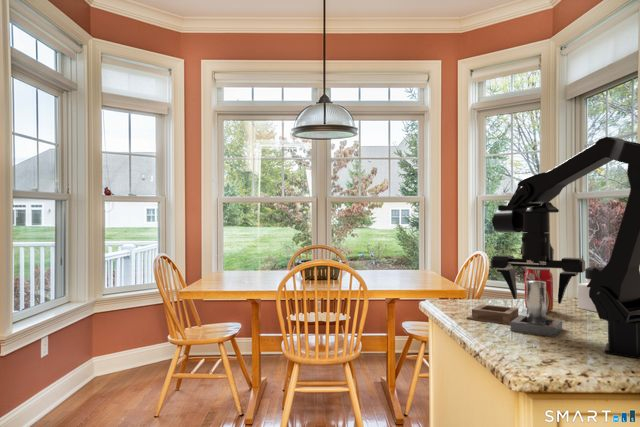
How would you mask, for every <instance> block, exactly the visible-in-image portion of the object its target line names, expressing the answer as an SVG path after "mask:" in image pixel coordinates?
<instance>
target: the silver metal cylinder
mask: <svg viewBox="0 0 640 427" xmlns="http://www.w3.org/2000/svg"><path fill="white" fill-rule="evenodd" d="M526 284H527V308H526V316H527V323H535V324H542V325H547V320H546V318H547V313H546V282H544V281H534V280H530V281H526Z"/></svg>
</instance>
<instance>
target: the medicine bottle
mask: <svg viewBox="0 0 640 427" xmlns="http://www.w3.org/2000/svg"><path fill="white" fill-rule="evenodd" d="M598 267H599V266H588V267H585V271H584V274H585V275H584V276H585V278H584V279H585V282H582V283H581V282H580V283H578V284H577V307H578V309H581V310H586V311H590V312H594V313H597V310H596V307H595V305H594V303H593V302H592V300H591V298H590V297H589V289H590V287H587V285H588V284H589V283H590V280H591V276H592V271H593V268H598Z"/></svg>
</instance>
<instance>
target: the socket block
mask: <svg viewBox="0 0 640 427" xmlns="http://www.w3.org/2000/svg"><path fill="white" fill-rule="evenodd" d="M546 320H547V325H542V324H535V323H527V315H524V314H520V316H518V317H517V318H515V319H514V320H513V321H511V325H510V331H511V332H517V333H525V334H531V335H538V336H545V337H546V336H547V337H552V338H556V337H557V336H558V335H559V334H560V332H561V331H562V330H563V319H554V318H547V317H546Z"/></svg>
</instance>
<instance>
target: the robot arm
mask: <svg viewBox="0 0 640 427" xmlns="http://www.w3.org/2000/svg"><path fill="white" fill-rule="evenodd" d="M612 161H616V162H619V163H624V164H626V165H627V171H626V175H627V178H628V184H629V188H630V190H629V194H628V197H627V200H626V203H625V207H624V211H623V214H622V217H621V221H620V224H619V227H618V230H617V233H616V237H615V239H614V242H613V243H614V244H613V247H612V250H611V254H610V257H609V260H608V262H607V263H606V264H605V265H604V266H597V267H598V268H593V271H592V276H591V280H590V283H589V284H588V285H587V287H590V289H589V297H590V298H591V300H592V302H593V303H594V305H595V307H596V310H597V312H596V313H597V315H598V318H599V319H600V320H603V321H607V343H606V344H605V347H604V353H605V354H611V355H617V356H625V357H631V358H637V359H640V143H639V142H634V141H629V140H625V139H623V138H619V137H613V136H604V137H601V138H599V139H598V140H596V142H595V143H593V144H592V145H590V146H589V147H586V148H585V149H582V151H580V152H578V153H577V154H575V155H573V156H571V157H570V158H568V159H567V160H564V162H562V163H560V164H557V165H556V166H554V167H553V168H551V169H549V170H547V171H544V172H543V171H542V172H540V173H535V174H532V175H530V176H527V177H524V178H522V179H521V180H519V182H518V183H517V188H516V189H515V190H514V193H513V195H512V196H511V198H510V199H509V202H508V203H507V204H499V205H498V206H497V210H496V211H495V212H494V213H493V215H492V218H491V223H492V224H491V225H492V227H493V229H494V231H496V232H498V233H517V234H518V233H521V246H520V254H521V258H515V256H514V255H510V254H509V255H507V254H498V255H493V256H492V257H491V258H490V268H492V269H496V272H498V273H500V274H501V275H502V277H503V278H504V280H505V282H506V284H507V286H508V288H509V291H510V294H511V295H512V298H513V300H517V298H518V288H517V281H516V268H513V267H526V268H527V267H542V268H550V269H561V271H562V272H559V276H558V277H559V278H558V291H557V292H558V293H557V303H558V305H559V304H561V303H562V302H563V300H564V299H563V298H564V295H565V293H566V290H567V288H568V285H569V282H570V281H571V279H572V278H573V277H577V276H578V275H579V274H580V273H581V274H582V273H585V269H586V260H584V258H582V257H562V258H561V260H558V259H554V251H555V250H554V248H553V246H552V243H551V232H550V231H551V227H550V225H551V224H550V222H551V220H550V219H551V218H550V214H552V213H559V212H560V209H559V208H557V207H556V206H554V204H553V203H552V202H551V201H552V200H554V199H555V198H556V197H558V196H559V195H560V194H561V192H562V191H563V189H564V188H566V187H567V186H568V185H570V184H571V183H573V182H576V181H577V180H579V179H581V178H583V177H584V176H586V175H588V174H590V173H592V172H594V171H595V170H597V169H600V168H601V167H603V166H605V165H607V164H608V163H611V162H612ZM528 261H530V262H528Z"/></svg>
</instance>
